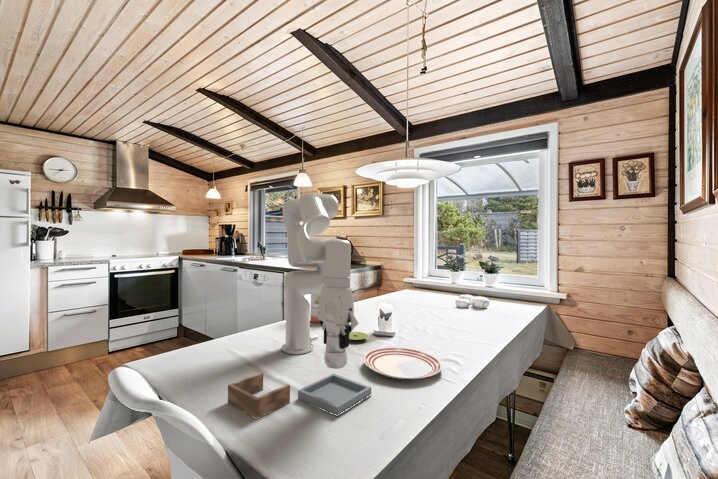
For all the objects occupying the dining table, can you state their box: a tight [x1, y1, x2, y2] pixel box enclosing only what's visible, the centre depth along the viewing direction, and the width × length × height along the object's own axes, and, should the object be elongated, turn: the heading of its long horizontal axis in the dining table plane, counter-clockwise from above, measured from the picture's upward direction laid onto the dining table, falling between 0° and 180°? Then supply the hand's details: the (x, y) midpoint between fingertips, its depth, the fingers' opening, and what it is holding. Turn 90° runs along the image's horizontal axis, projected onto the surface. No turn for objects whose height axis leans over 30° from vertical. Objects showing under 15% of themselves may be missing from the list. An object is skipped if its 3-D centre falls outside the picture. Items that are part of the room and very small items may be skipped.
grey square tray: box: [297, 373, 372, 415], centre depth 100 cm, size 15×15×2 cm
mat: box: [349, 331, 369, 341], centre depth 153 cm, size 11×11×2 cm
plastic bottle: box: [323, 313, 348, 370], centre depth 99 cm, size 6×7×20 cm
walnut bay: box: [227, 372, 291, 419], centre depth 96 cm, size 11×13×5 cm
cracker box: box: [310, 293, 320, 324], centre depth 180 cm, size 14×6×21 cm, turn 81°
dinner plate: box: [362, 346, 443, 380], centre depth 122 cm, size 28×27×3 cm
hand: (336, 344), depth 100 cm, fingers closed on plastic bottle, 5 cm apart
